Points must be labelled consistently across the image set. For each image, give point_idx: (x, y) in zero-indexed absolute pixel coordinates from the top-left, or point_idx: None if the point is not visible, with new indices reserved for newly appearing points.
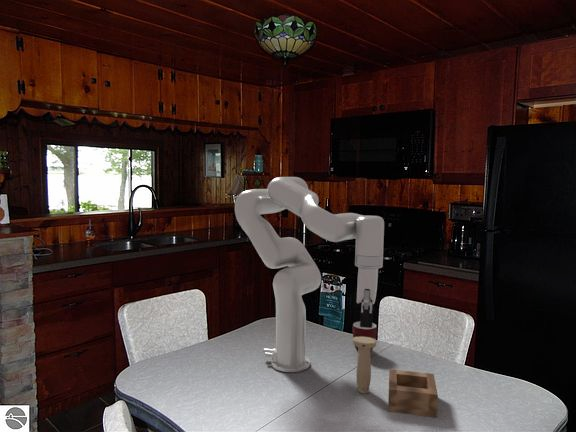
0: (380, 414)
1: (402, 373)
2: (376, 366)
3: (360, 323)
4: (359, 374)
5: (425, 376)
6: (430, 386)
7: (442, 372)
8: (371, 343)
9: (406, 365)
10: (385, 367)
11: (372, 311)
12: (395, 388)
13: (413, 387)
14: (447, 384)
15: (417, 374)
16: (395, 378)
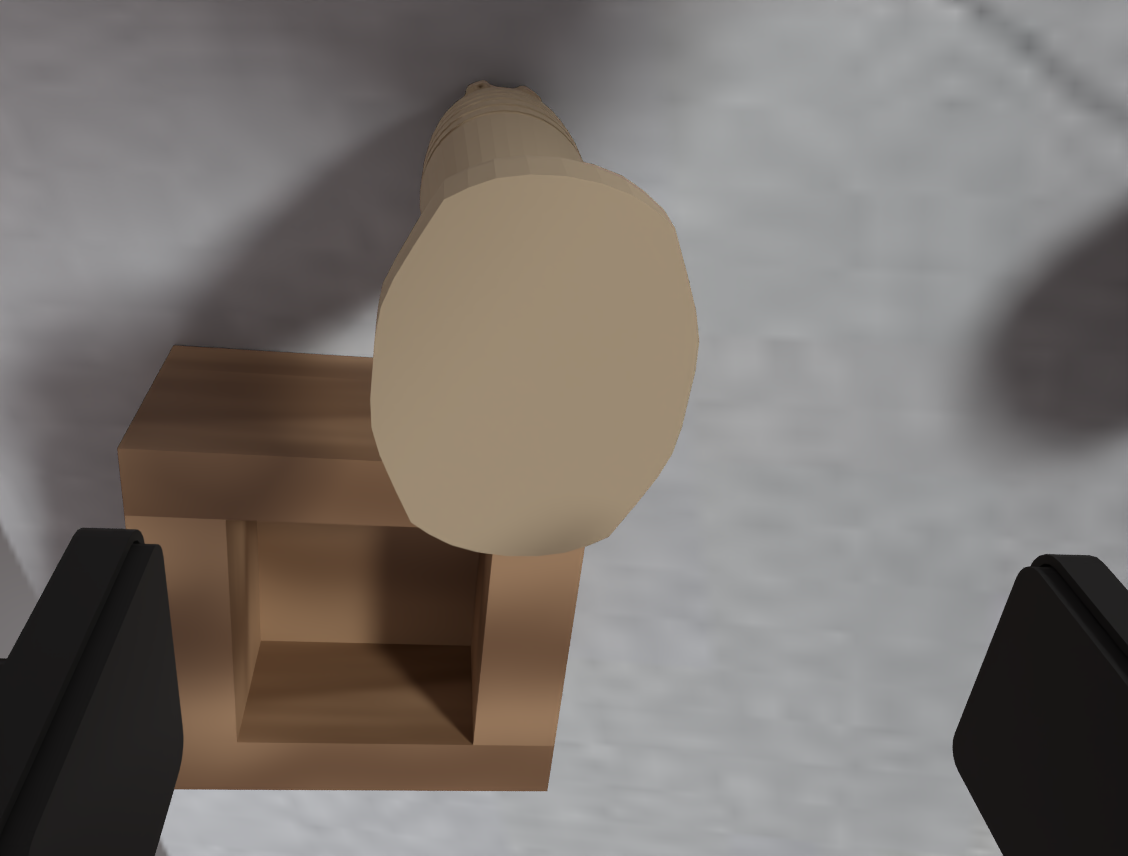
0: (95, 281)
1: (511, 578)
2: (1046, 282)
3: (56, 584)
4: (434, 145)
5: (484, 737)
6: (293, 756)
7: (899, 744)
8: (395, 488)
9: (1041, 531)
10: (1016, 363)
11: (1000, 841)
12: (153, 506)
13: (230, 644)
14: (707, 753)
15: (514, 686)
16: (383, 515)
